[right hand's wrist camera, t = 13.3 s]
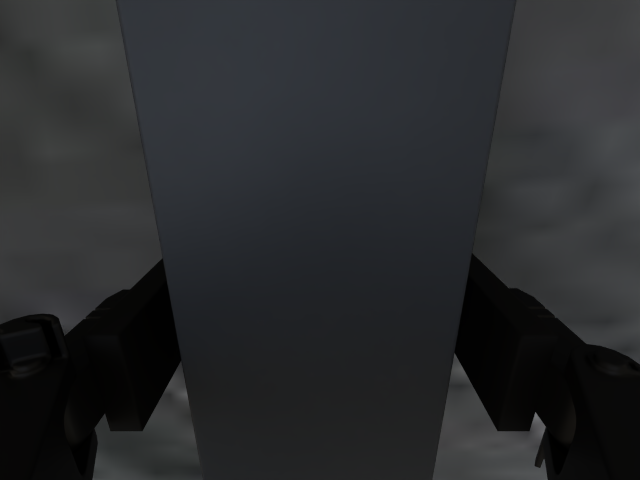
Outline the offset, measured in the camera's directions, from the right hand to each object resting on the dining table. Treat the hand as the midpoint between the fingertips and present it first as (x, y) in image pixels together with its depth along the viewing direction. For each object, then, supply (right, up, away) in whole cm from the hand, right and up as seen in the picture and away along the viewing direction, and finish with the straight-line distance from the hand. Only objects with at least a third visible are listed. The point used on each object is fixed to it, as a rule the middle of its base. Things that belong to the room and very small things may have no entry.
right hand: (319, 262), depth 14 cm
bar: (0, +11, -1) cm, 11 cm away
